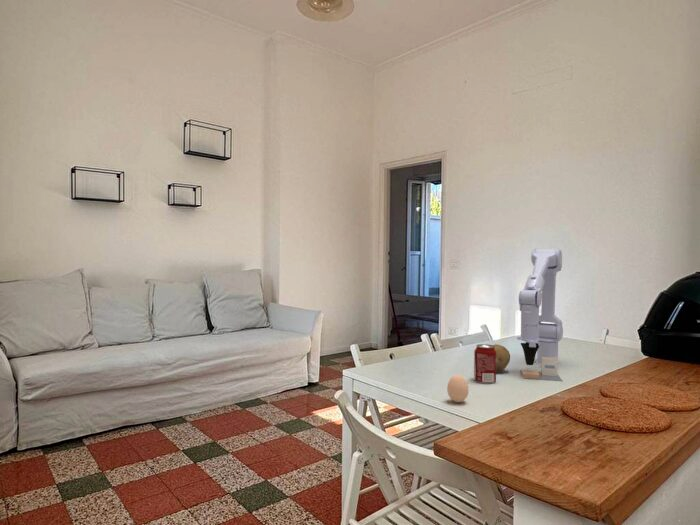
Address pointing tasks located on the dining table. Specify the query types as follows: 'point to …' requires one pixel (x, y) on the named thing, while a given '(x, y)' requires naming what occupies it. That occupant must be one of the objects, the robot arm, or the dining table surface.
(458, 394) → the egg
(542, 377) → the mat
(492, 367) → the soda can
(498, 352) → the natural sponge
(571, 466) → the dining table surface
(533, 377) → the tile
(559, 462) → the dining table surface
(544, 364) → the tile
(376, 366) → the dining table surface
